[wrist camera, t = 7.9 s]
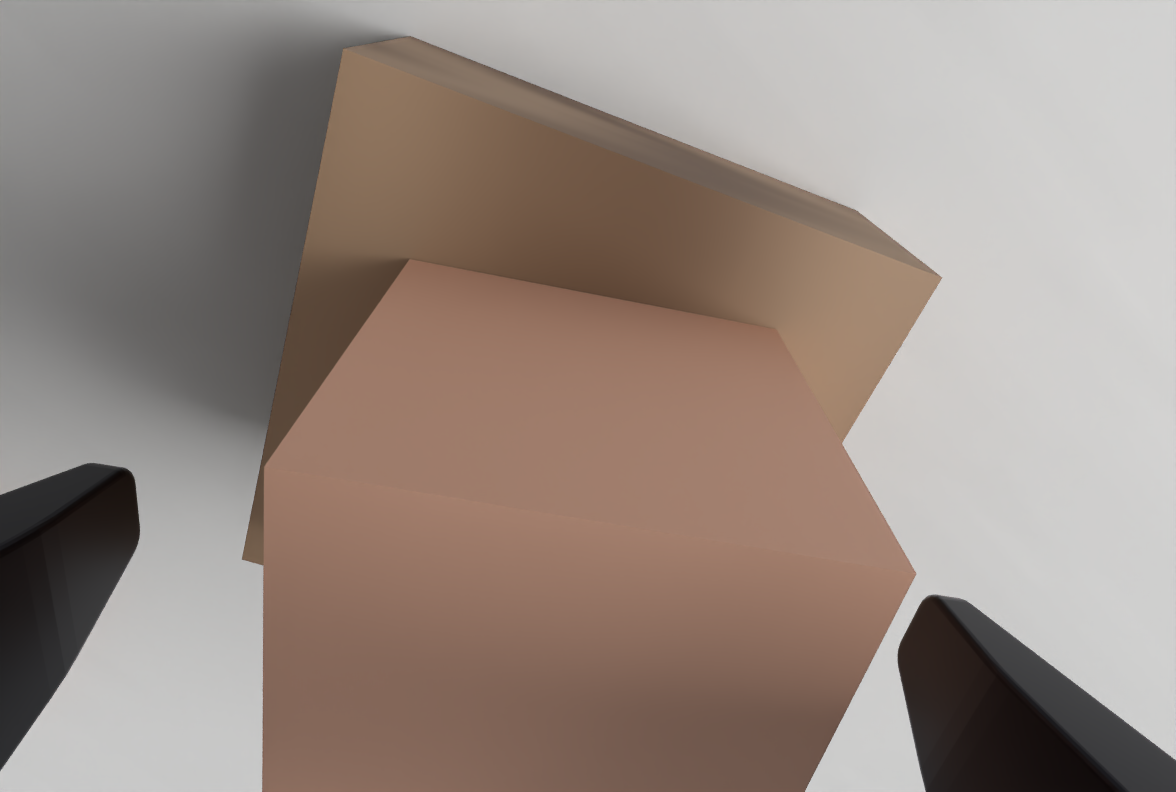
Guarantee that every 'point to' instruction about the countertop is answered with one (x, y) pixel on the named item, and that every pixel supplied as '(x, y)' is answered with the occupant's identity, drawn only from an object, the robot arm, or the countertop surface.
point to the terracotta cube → (563, 554)
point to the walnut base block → (573, 227)
